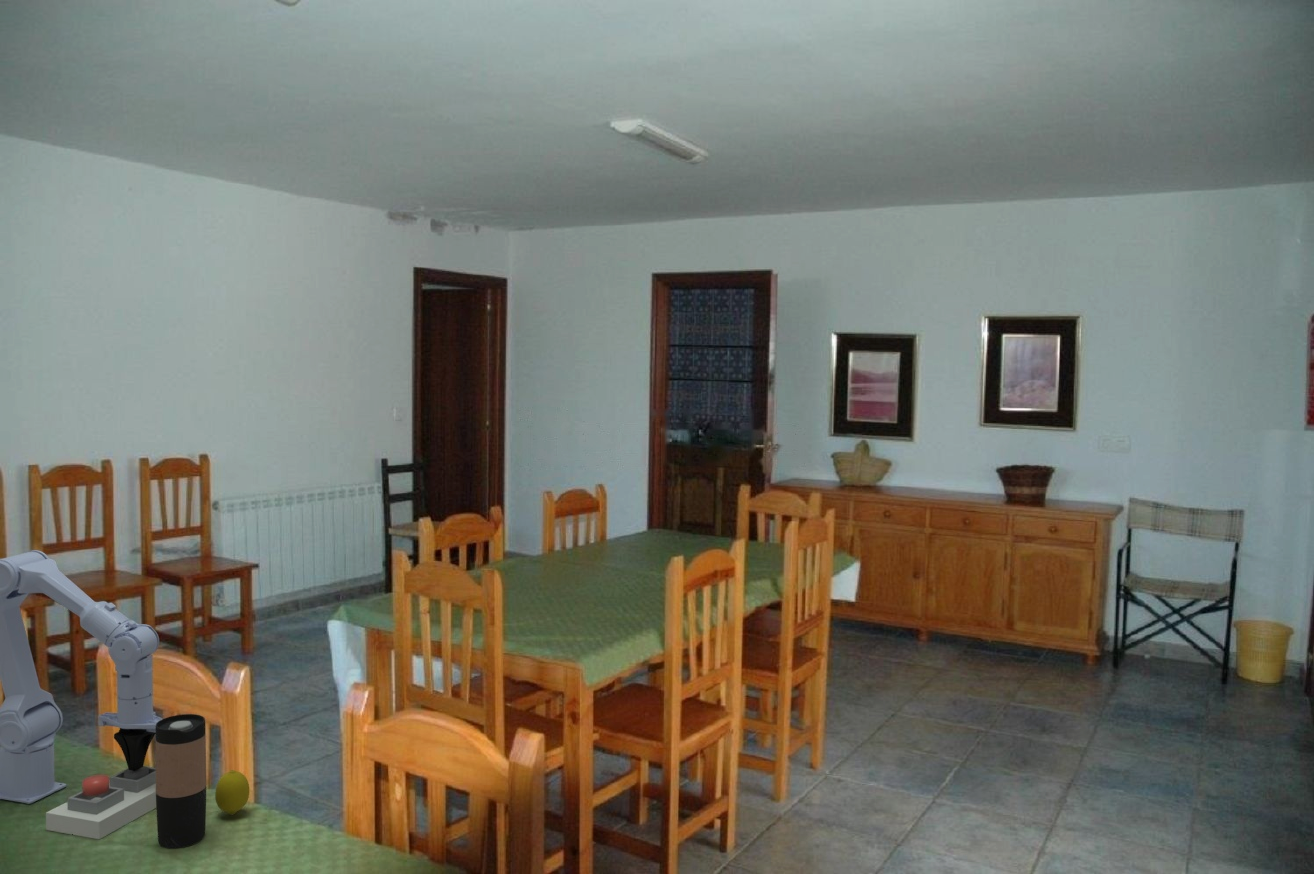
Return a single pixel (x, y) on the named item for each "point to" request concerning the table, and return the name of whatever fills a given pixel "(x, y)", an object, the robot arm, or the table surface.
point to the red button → (95, 785)
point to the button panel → (105, 807)
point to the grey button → (136, 773)
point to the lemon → (232, 792)
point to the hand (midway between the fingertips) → (135, 768)
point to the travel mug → (181, 780)
